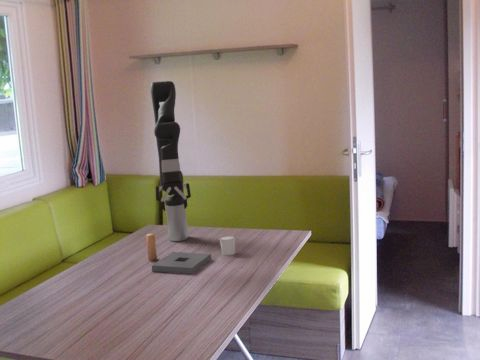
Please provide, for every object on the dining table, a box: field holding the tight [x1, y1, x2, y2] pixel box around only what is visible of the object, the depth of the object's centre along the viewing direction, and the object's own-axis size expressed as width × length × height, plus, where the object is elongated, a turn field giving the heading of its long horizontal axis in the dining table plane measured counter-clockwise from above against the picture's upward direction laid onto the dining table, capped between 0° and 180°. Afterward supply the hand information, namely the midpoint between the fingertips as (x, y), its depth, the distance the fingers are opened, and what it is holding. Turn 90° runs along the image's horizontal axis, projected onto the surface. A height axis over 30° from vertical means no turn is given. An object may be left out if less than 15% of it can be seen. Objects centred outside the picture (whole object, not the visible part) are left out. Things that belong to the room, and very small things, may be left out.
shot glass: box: [219, 235, 236, 257], centre depth 242 cm, size 7×7×7 cm
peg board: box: [151, 251, 212, 275], centre depth 231 cm, size 18×18×2 cm
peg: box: [145, 233, 158, 262], centre depth 241 cm, size 4×4×11 cm
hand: (174, 209), depth 233 cm, fingers open, 8 cm apart
